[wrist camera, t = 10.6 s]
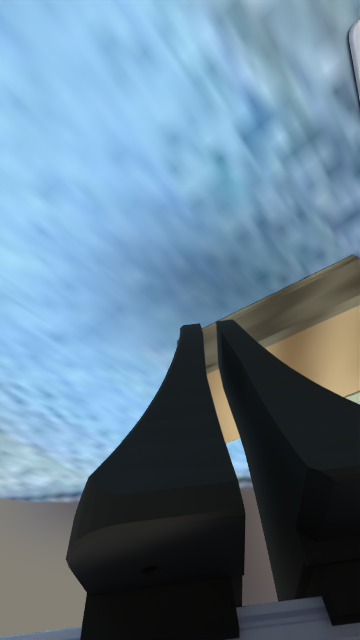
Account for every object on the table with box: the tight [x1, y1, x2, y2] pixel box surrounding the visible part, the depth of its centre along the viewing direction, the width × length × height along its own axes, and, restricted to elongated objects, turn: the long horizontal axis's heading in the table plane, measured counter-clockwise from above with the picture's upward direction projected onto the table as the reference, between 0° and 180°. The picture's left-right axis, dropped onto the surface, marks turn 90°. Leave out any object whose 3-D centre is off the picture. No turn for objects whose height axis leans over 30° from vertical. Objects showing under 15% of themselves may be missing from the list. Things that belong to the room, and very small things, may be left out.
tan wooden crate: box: [177, 255, 360, 443], centre depth 22 cm, size 14×7×5 cm, turn 119°
